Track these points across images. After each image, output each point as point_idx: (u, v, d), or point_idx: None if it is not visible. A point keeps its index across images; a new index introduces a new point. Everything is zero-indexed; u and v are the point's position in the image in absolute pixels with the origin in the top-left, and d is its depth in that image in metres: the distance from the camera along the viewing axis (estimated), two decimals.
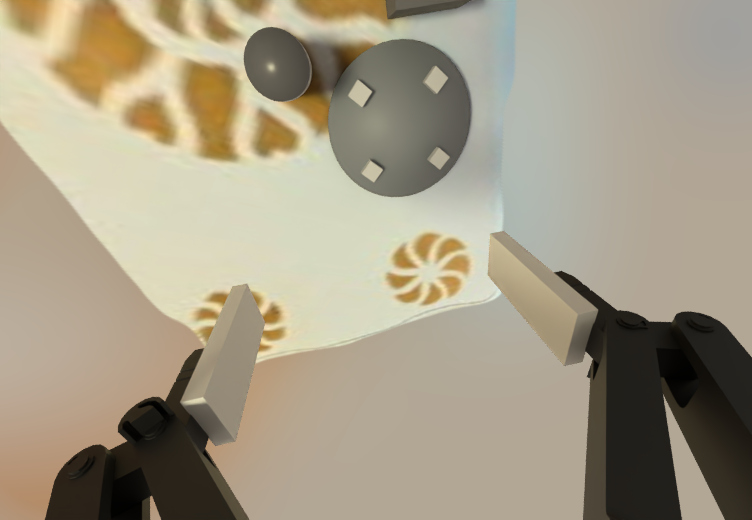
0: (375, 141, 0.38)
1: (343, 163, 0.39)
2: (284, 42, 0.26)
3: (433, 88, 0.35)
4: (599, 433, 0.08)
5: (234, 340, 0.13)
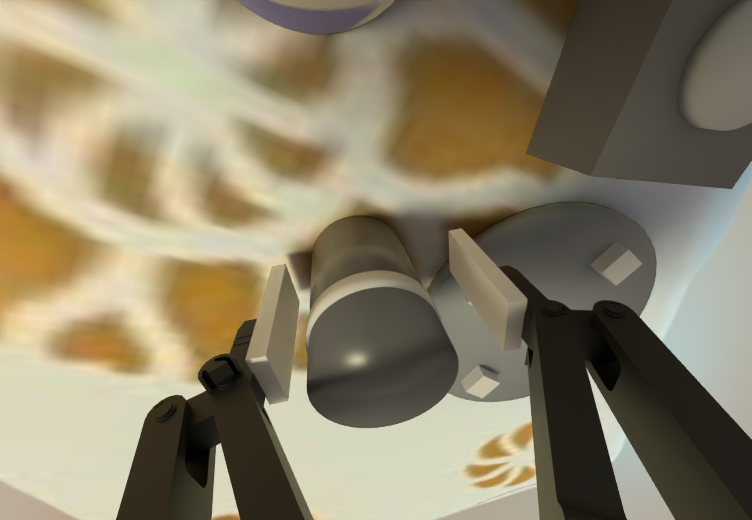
0: (492, 344, 0.23)
1: None
2: (412, 344, 0.10)
3: (613, 279, 0.20)
4: (541, 420, 0.08)
5: (281, 312, 0.14)
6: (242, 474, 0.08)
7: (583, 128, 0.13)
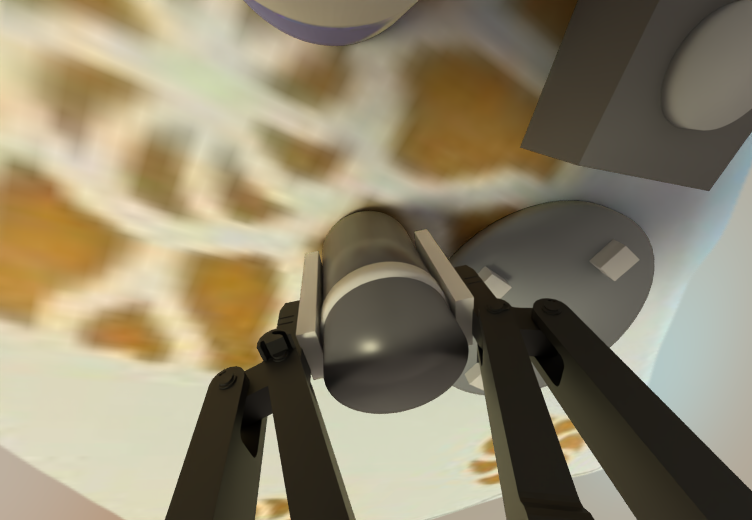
0: None
1: None
2: (424, 331, 0.11)
3: (611, 275, 0.21)
4: (497, 418, 0.09)
5: (319, 294, 0.15)
6: (289, 443, 0.08)
7: (573, 121, 0.14)
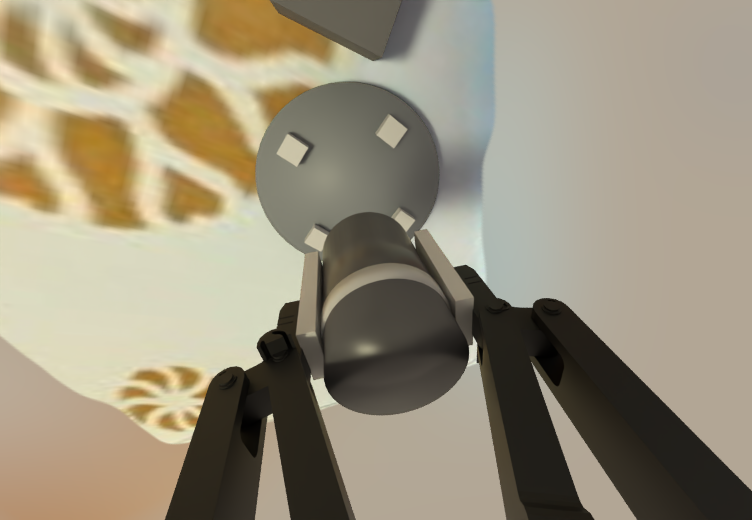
0: (320, 203, 0.30)
1: (281, 229, 0.31)
2: (425, 332, 0.11)
3: (388, 142, 0.27)
4: (497, 418, 0.09)
5: (320, 294, 0.15)
6: (289, 443, 0.08)
7: None
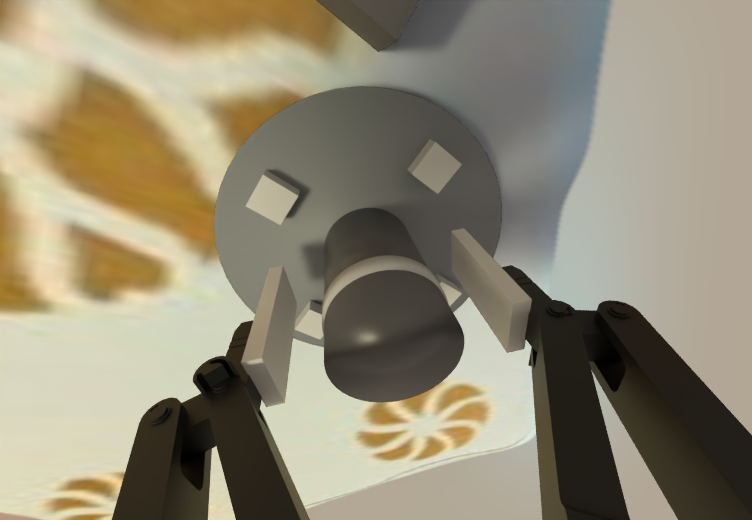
0: (318, 273, 0.20)
1: None
2: (421, 321, 0.11)
3: (430, 184, 0.17)
4: (545, 421, 0.08)
5: (278, 313, 0.14)
6: (238, 477, 0.08)
7: None
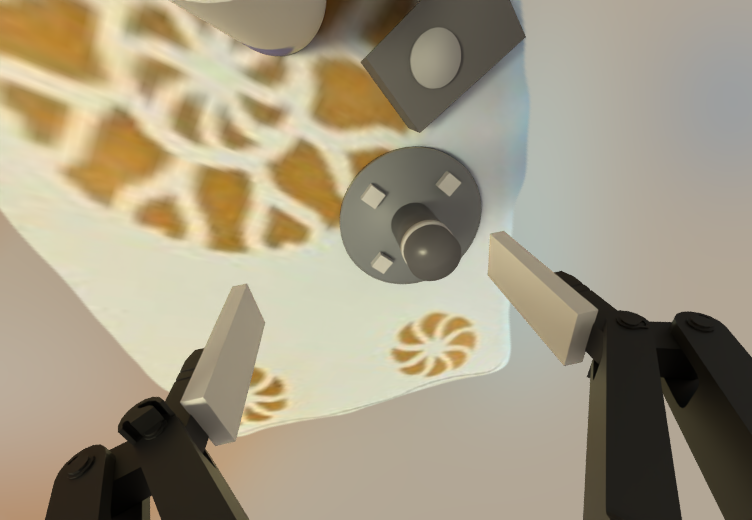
0: (386, 236, 0.38)
1: (353, 255, 0.39)
2: (445, 241, 0.29)
3: (446, 192, 0.36)
4: (599, 433, 0.08)
5: (234, 340, 0.13)
6: None
7: None
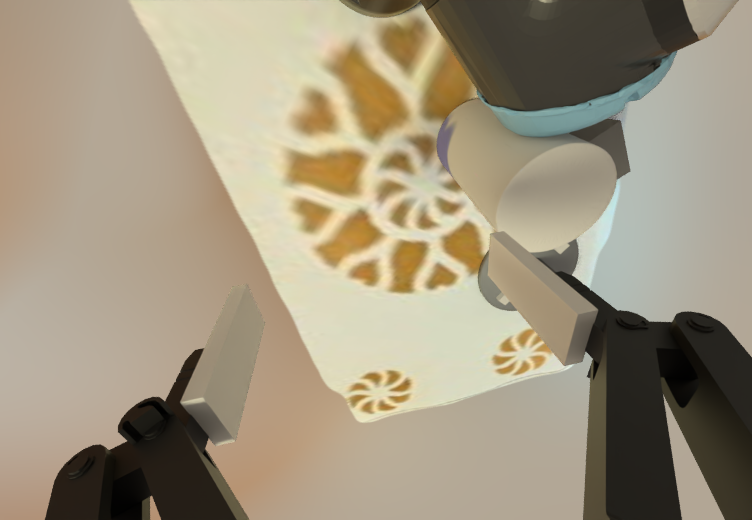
0: None
1: (485, 293, 0.55)
2: None
3: (558, 251, 0.51)
4: (599, 433, 0.08)
5: (234, 340, 0.13)
6: None
7: None
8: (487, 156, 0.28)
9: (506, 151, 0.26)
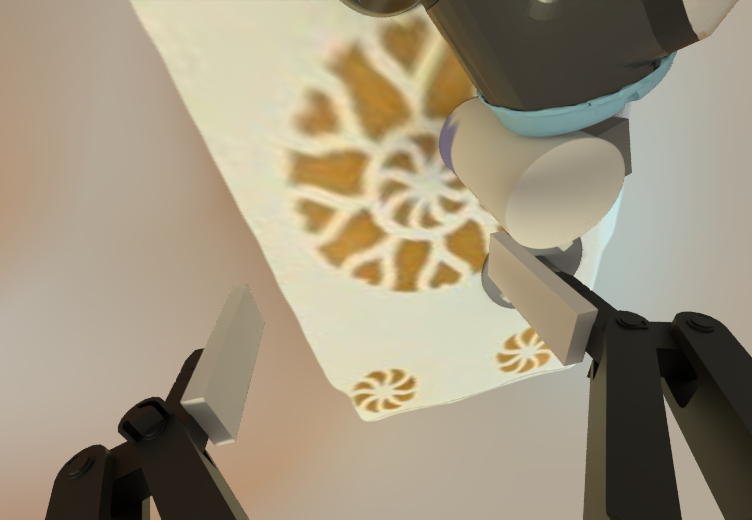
0: None
1: (489, 291, 0.55)
2: None
3: (562, 249, 0.51)
4: (599, 433, 0.08)
5: (234, 340, 0.13)
6: None
7: None
8: (494, 153, 0.28)
9: (514, 148, 0.26)
